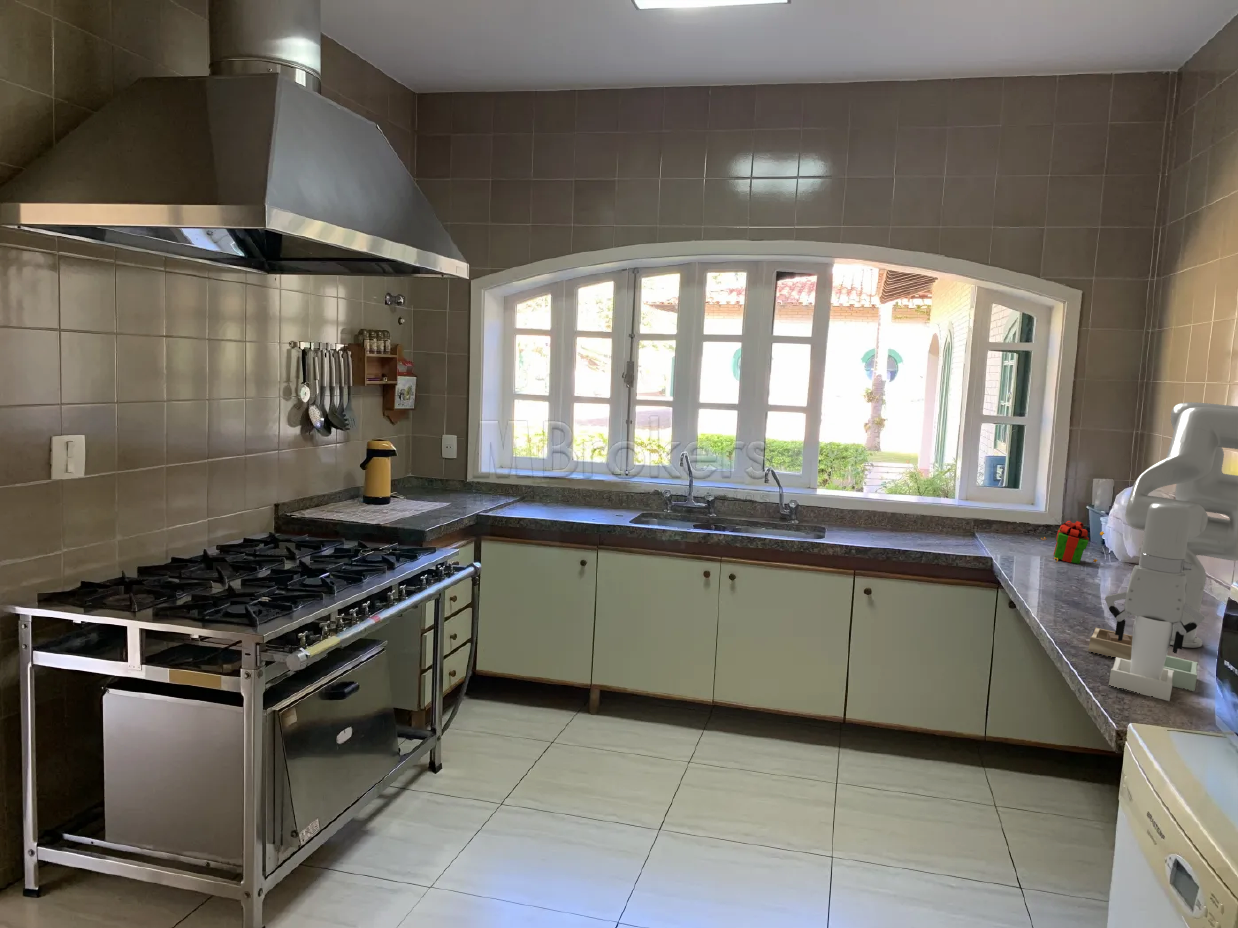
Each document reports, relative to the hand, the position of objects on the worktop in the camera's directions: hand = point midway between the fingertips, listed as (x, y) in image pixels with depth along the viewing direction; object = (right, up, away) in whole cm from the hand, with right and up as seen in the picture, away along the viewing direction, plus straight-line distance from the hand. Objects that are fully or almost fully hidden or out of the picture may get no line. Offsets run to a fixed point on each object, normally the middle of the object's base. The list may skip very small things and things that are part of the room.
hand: (1147, 645), depth 175 cm
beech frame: (+7, -6, +23) cm, 24 cm away
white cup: (0, -9, +1) cm, 9 cm away
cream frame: (-1, -9, +1) cm, 9 cm away
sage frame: (+9, -9, +8) cm, 15 cm away
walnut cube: (+7, -7, +23) cm, 24 cm away
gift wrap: (+49, +3, +124) cm, 134 cm away
